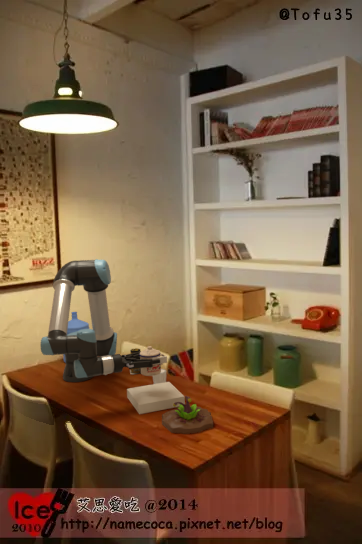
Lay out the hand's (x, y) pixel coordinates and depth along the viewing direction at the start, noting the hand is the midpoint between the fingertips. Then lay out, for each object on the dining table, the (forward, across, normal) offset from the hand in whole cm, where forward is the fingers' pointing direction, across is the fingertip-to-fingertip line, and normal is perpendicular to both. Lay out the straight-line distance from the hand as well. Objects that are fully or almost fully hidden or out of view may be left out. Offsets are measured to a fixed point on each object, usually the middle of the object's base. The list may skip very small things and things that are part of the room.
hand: (163, 356), depth 207 cm
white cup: (+3, -18, -20) cm, 27 cm away
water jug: (-27, -78, -20) cm, 85 cm away
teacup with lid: (-4, 0, -7) cm, 8 cm away
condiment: (-1, -42, -20) cm, 46 cm away
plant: (+1, +26, -20) cm, 33 cm away
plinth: (-5, 0, -20) cm, 20 cm away
